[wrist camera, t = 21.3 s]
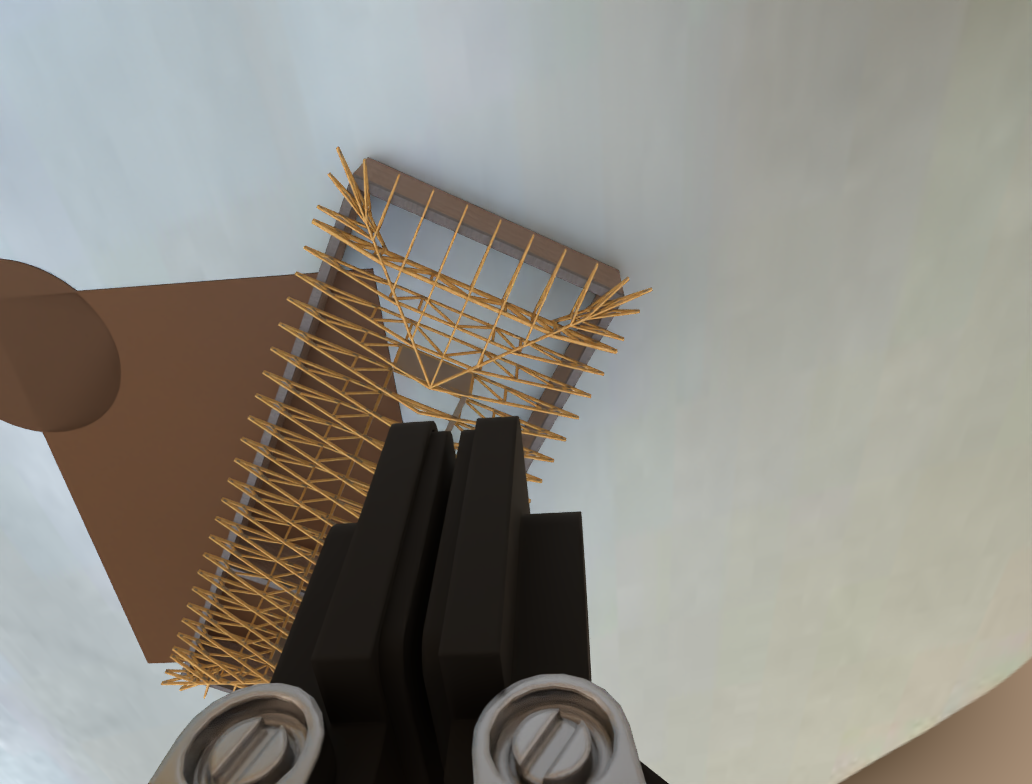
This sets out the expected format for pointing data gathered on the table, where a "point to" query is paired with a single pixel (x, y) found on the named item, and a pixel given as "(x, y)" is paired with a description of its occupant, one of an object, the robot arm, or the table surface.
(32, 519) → the table surface
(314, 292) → the rafter model
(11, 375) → the brown flat board
